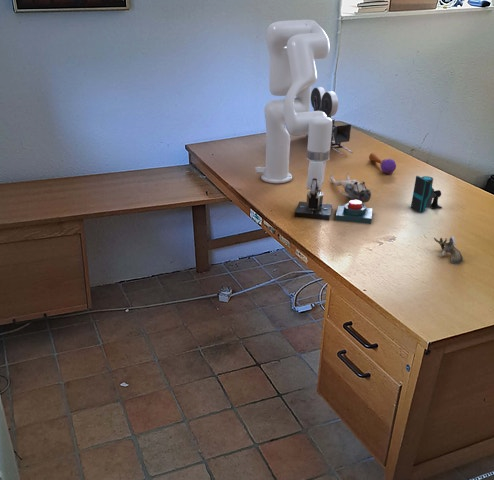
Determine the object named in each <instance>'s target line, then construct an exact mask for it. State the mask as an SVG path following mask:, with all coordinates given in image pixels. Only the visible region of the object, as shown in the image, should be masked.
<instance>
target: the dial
mask: <svg viewBox="0 0 494 480" xmlns="http://www.w3.org/2000/svg"><path fill="white" fill-rule="evenodd" d="M315 192H316V193H317V191H315ZM309 197H310V190H308V191H307V192H306V201H305V202H306V209H308V210H310V211H319V210H321V209H322V203H323V202H324V192H322V191H321V192H320V191H318V198H319V199H318V208H317V209H312V208H308V205H309ZM323 204H324V203H323Z"/></svg>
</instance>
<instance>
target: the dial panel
mask: <svg viewBox="0 0 494 480" xmlns="http://www.w3.org/2000/svg"><path fill="white" fill-rule="evenodd" d="M333 205H334V204H332V203H322V209H321V210H319V211H310V210H308V209H306V201H298V203H297V206H296V209H295V211H294V218H297V219H298V218H300V219H309V220H320V221H330V220H331V219H330V218H331V215H332V211H333Z"/></svg>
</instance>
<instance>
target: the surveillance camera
mask: <svg viewBox="0 0 494 480" xmlns="http://www.w3.org/2000/svg"><path fill="white" fill-rule="evenodd" d="M414 181H415V182H414V187H413V194H412V198H411V204H410V208H411V209H412V210H413V211H415V212H417V213H418V214H421V213H423V212H425V211H426V209H429V208H430V209H432V210H437V209H442V207H443V206H440V205H439V204H438V202H439V198H440V197H441V196H442V190H440V189H436V190H435V188H434V187H433V183H434V177H431V176H428V175H427V176H420V175H416V176H415V180H414Z"/></svg>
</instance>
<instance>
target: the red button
mask: <svg viewBox="0 0 494 480" xmlns="http://www.w3.org/2000/svg"><path fill="white" fill-rule="evenodd" d="M348 203H349V206H348V207H349V208H351V209H356V210H357V209H361V208H362V204H363V203H362V202H361V201H360V200H352V199H350V200H349V201H348Z"/></svg>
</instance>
